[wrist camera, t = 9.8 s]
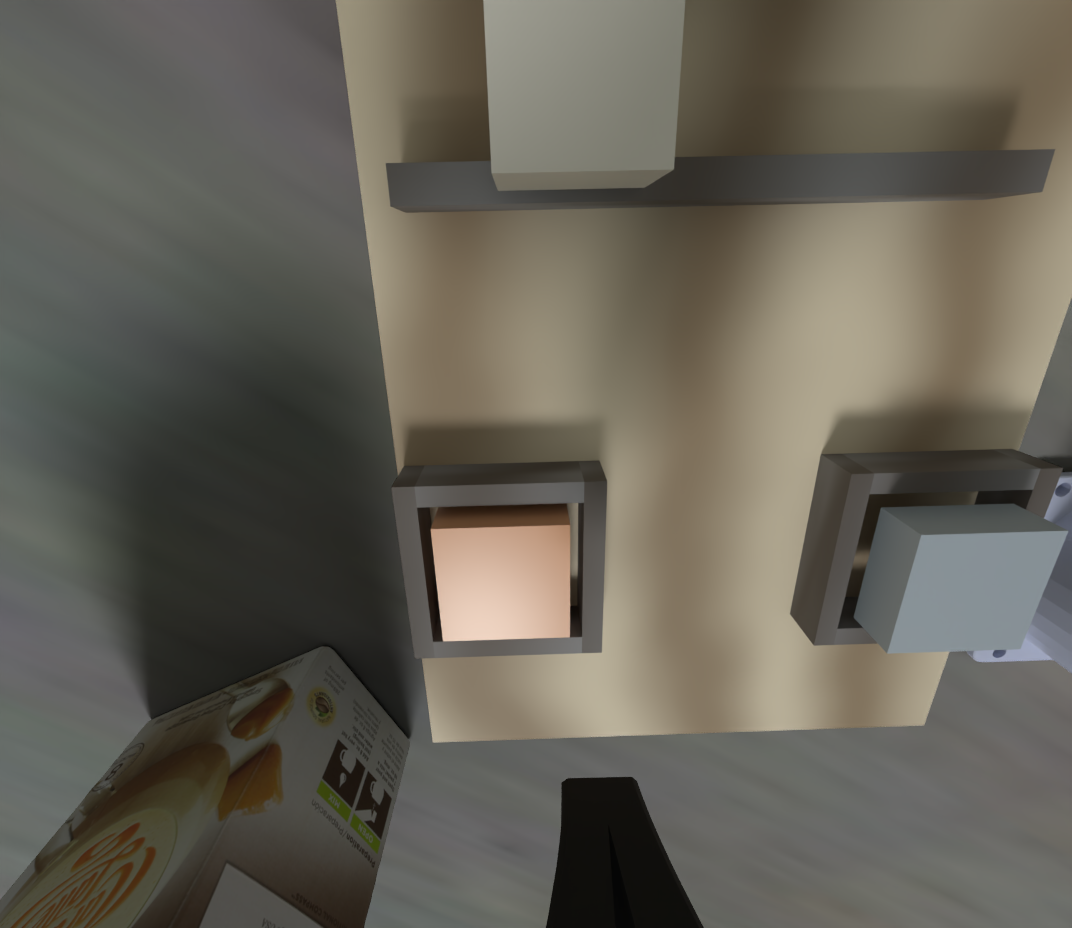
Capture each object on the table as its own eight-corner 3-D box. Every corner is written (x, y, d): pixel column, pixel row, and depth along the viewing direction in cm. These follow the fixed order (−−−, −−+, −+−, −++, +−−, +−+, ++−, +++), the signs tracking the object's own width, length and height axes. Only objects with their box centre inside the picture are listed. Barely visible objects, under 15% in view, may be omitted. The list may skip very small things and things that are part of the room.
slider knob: (638, -81, 10) (703, -274, 7) (627, 198, 12) (673, 169, 8) (489, -78, 10) (470, -271, 7) (501, 200, 12) (491, 173, 8)
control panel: (1103, -102, 12) (1354, -261, 9) (879, 674, 21) (956, 762, 17) (353, -92, 12) (277, -249, 8) (442, 689, 21) (425, 781, 17)
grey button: (1013, 503, 14) (1068, 530, 12) (974, 613, 15) (1020, 649, 14) (881, 507, 14) (921, 535, 12) (853, 617, 15) (886, 653, 14)
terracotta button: (565, 499, 15) (570, 524, 13) (565, 604, 16) (569, 637, 15) (439, 503, 15) (430, 529, 13) (449, 607, 16) (442, 641, 14)
